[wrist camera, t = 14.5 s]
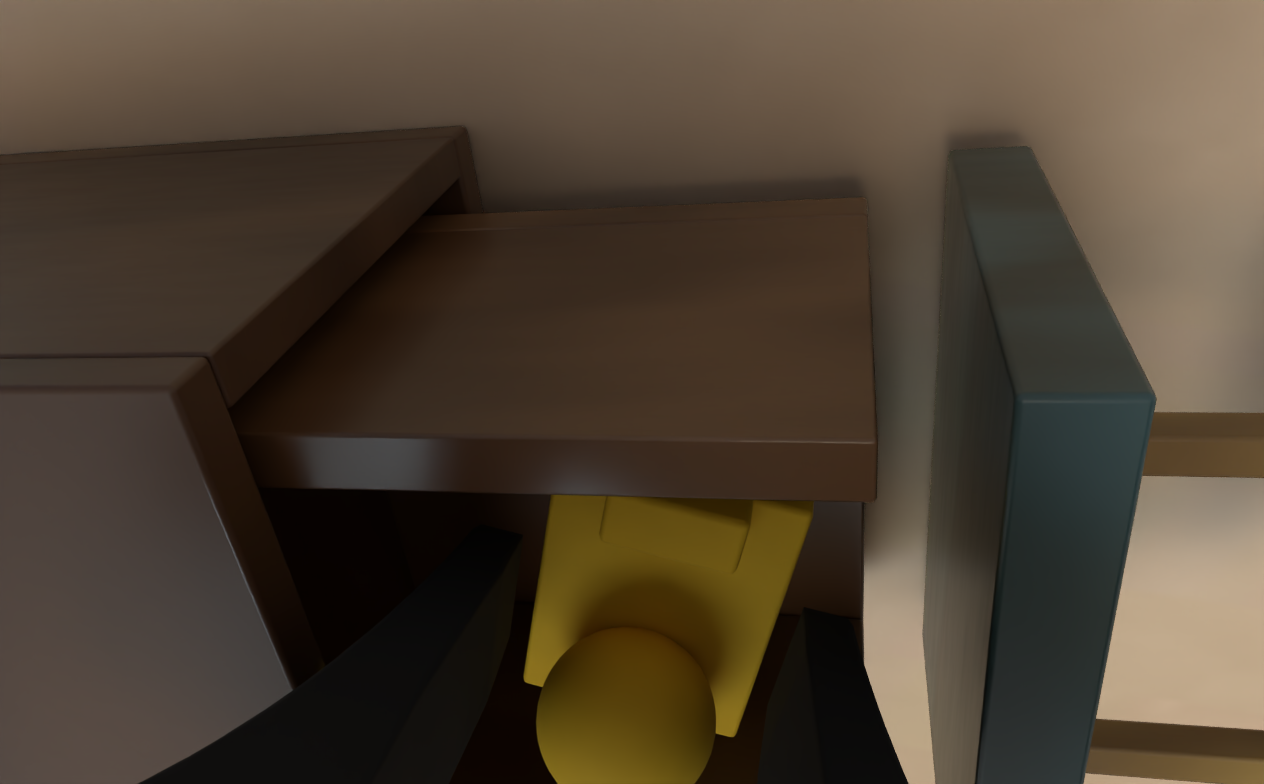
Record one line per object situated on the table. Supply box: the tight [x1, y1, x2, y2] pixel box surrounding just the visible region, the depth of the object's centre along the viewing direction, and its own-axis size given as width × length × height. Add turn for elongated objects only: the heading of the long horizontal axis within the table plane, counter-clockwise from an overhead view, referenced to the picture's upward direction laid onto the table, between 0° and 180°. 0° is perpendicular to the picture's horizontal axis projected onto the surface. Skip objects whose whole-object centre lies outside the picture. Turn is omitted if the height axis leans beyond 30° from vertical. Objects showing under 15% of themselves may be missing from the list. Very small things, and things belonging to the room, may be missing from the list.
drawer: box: [227, 146, 1264, 784], centre depth 15 cm, size 17×10×7 cm, turn 96°
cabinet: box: [0, 126, 483, 784], centre depth 18 cm, size 13×11×9 cm
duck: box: [523, 495, 814, 784], centre depth 14 cm, size 6×3×5 cm, turn 170°
